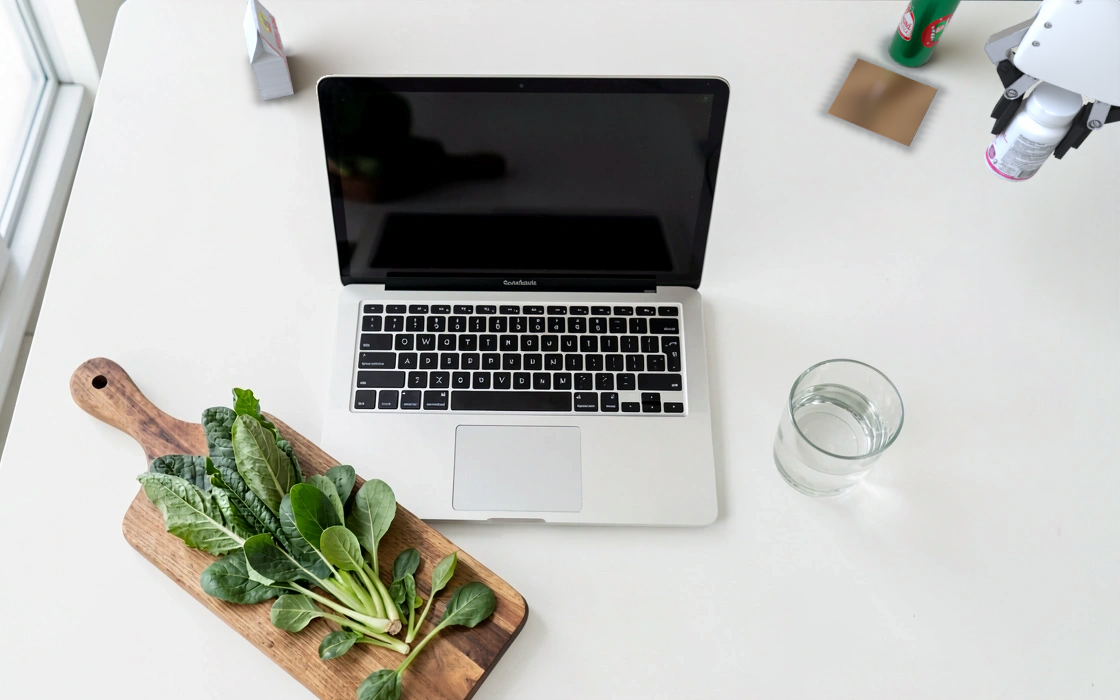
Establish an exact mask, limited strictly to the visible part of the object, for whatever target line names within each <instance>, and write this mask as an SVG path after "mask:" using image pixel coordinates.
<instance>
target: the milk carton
mask: <svg viewBox="0 0 1120 700" xmlns="http://www.w3.org/2000/svg"><path fill="white" fill-rule="evenodd" d="M242 26H243V31H244V36H245V42H246V47H247V52H248V57H249V63H250V67H251V70H252V73H253V75H254V78H255V81H256V85H257V87H258V89H259V92H260V96H261V98H262V101H268V100H272V99H278V98H282V97H283V98H284V97H288V96H292V95H294V94H295V92H294V87H293V84H292V83H293V82H292V78H291V73H290V69H289V65H288V59H287V54H286V51H285V48H284V44H283V41H282V38H281V34H280V31H279V28H278V25H277V21H276V18H275V16H274V15H273V14H272V13H271V12H270V11H269V10H268V9H267V8H266V7H265V6H264V5H263V4H262V3H261V2H260V1H259V0H247V6H246V10H245V13H244V18H243V21H242Z"/></svg>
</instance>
